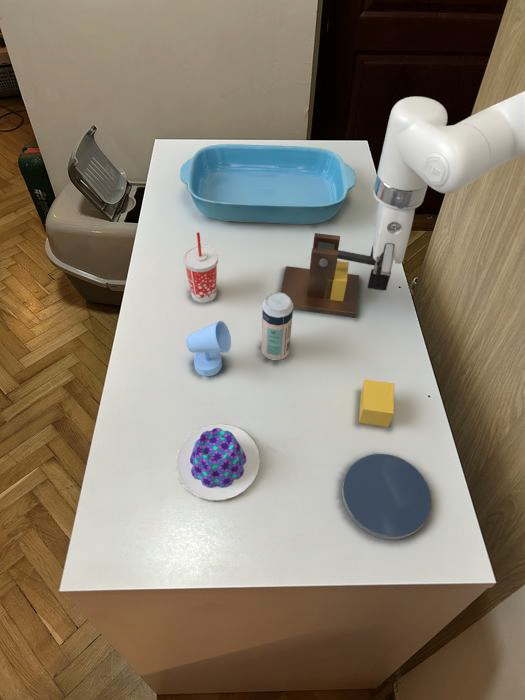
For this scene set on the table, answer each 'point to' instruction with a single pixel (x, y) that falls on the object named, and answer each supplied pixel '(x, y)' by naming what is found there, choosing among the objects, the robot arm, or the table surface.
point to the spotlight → (209, 347)
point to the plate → (386, 496)
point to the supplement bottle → (276, 325)
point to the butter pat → (376, 403)
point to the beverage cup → (201, 271)
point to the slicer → (320, 282)
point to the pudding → (217, 462)
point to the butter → (338, 282)
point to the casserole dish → (267, 183)
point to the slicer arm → (349, 254)
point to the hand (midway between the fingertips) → (377, 275)
